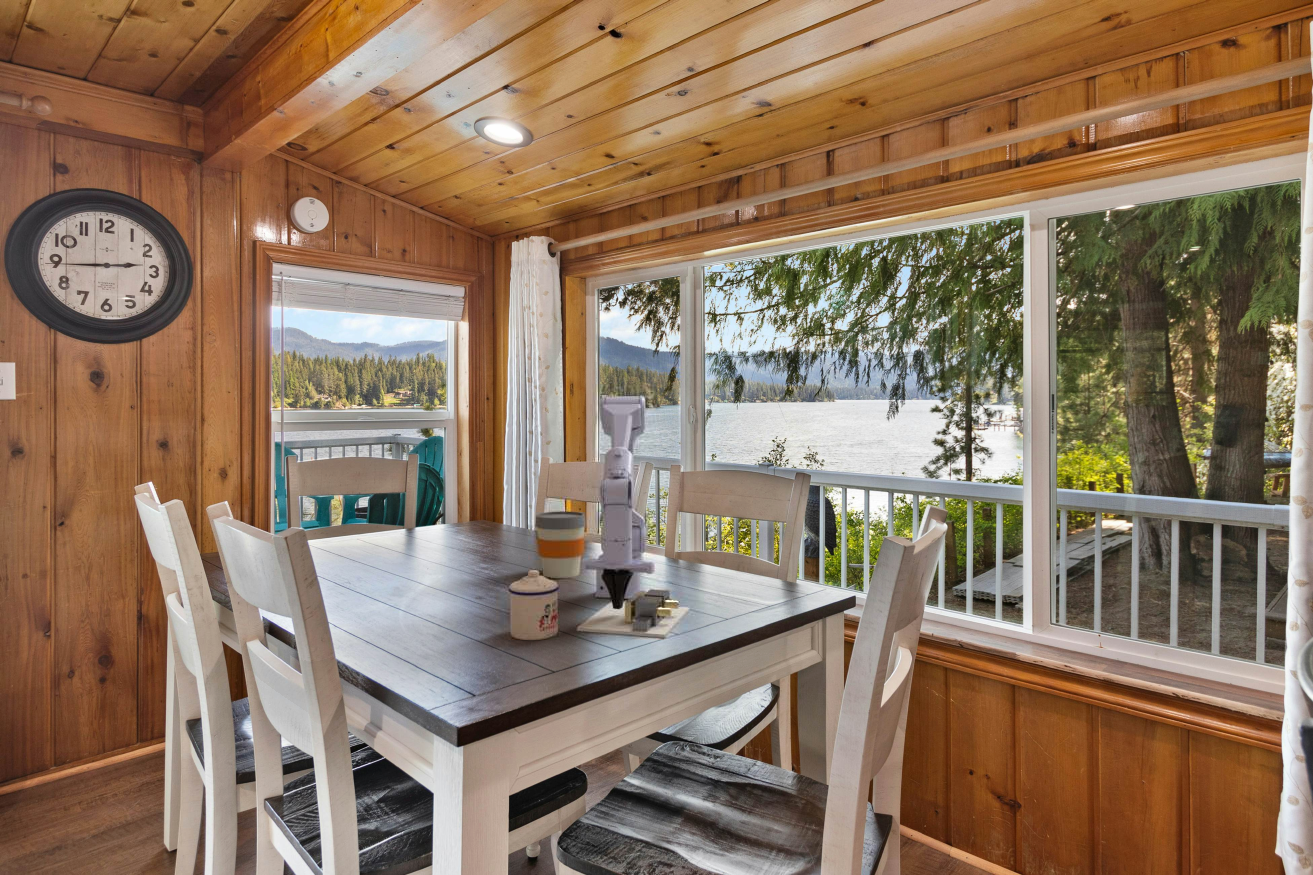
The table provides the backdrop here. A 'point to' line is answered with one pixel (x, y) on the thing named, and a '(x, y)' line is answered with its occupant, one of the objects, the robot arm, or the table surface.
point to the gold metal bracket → (660, 611)
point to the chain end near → (646, 613)
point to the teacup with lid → (533, 607)
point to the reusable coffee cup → (560, 542)
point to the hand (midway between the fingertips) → (617, 607)
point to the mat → (615, 622)
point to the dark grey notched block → (659, 595)
